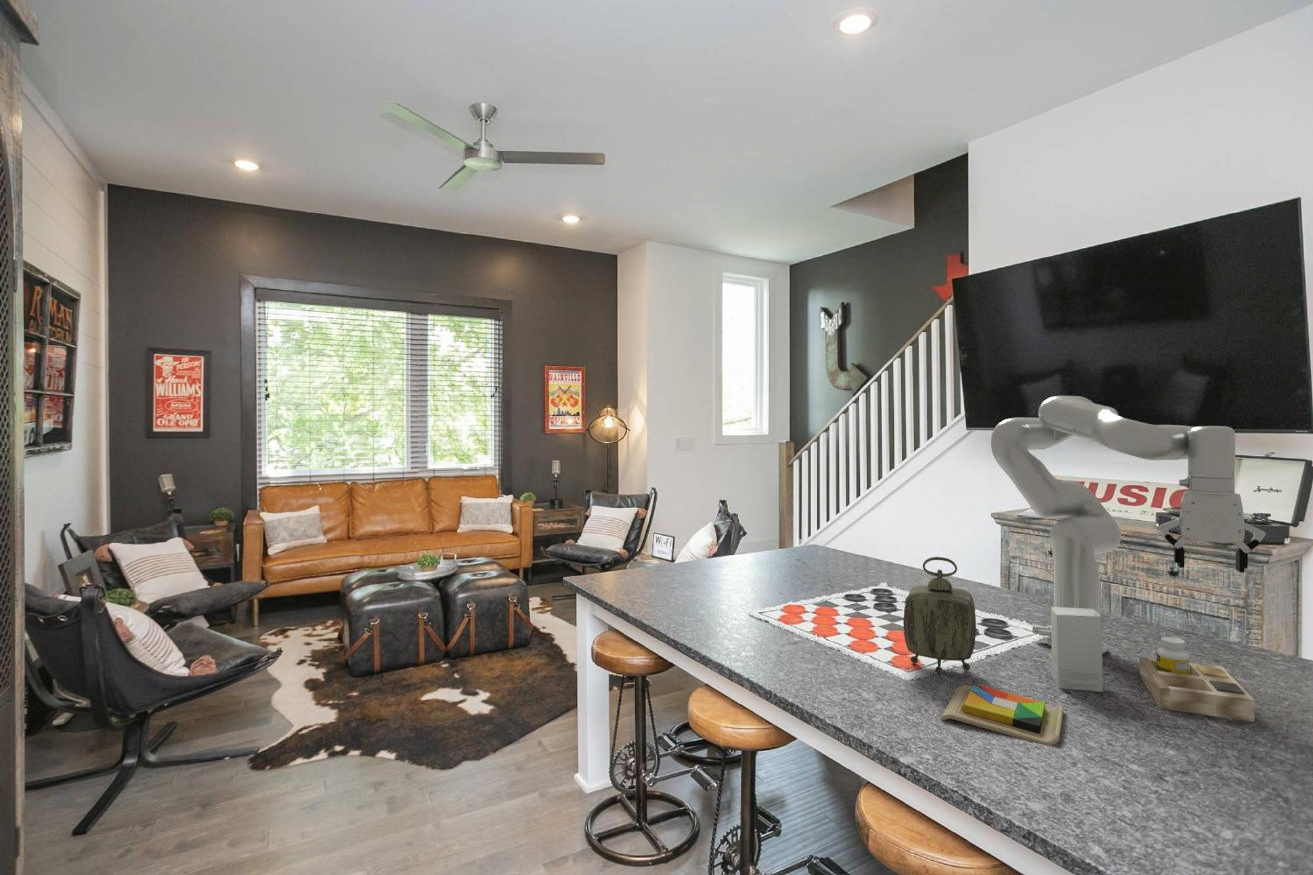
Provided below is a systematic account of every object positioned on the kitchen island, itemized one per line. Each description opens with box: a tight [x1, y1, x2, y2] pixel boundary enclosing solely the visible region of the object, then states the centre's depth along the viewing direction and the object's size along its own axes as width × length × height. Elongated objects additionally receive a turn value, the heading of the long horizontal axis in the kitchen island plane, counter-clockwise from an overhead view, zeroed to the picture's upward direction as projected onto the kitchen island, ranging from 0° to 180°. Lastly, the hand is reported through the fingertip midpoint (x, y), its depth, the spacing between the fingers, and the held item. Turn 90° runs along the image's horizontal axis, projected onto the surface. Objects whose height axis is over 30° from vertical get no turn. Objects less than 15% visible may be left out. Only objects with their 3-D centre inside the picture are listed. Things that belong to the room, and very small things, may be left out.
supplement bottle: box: [1156, 636, 1191, 675], centre depth 141 cm, size 5×5×10 cm
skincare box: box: [1050, 606, 1104, 693], centre depth 141 cm, size 8×7×16 cm
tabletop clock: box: [902, 556, 977, 675], centre depth 150 cm, size 14×9×25 cm, turn 65°
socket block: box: [1139, 656, 1256, 723], centre depth 135 cm, size 14×19×4 cm
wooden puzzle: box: [940, 683, 1064, 746], centre depth 127 cm, size 18×19×4 cm
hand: (1209, 568), depth 141 cm, fingers open, 9 cm apart
